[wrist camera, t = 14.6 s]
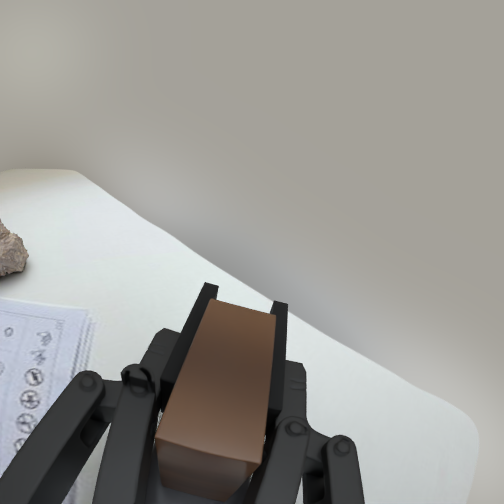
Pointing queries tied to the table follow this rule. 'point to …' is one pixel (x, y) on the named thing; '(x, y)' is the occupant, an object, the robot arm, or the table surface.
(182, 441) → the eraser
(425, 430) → the table surface
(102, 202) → the table surface
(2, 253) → the rock
